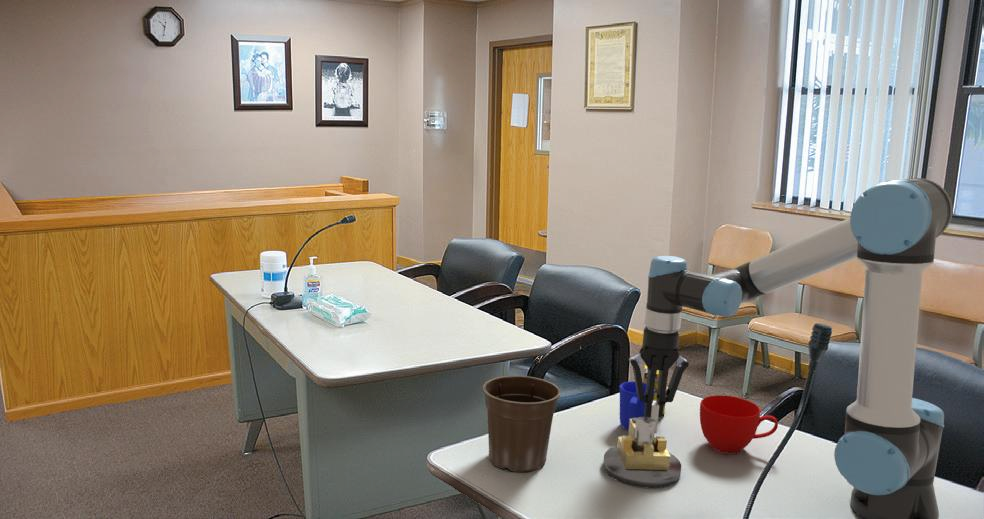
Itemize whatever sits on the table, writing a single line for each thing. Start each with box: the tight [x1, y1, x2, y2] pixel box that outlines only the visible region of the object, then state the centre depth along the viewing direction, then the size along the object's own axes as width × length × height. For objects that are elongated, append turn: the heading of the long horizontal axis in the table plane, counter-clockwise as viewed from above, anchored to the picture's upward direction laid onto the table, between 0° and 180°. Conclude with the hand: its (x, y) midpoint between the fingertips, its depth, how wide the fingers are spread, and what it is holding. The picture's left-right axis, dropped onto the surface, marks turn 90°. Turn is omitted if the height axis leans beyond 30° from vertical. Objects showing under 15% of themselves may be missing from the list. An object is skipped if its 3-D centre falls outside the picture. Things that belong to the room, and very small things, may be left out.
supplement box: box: [642, 364, 669, 417], centre depth 195 cm, size 6×6×11 cm
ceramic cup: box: [699, 394, 779, 455], centre depth 175 cm, size 13×17×10 cm
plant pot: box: [482, 375, 562, 473], centre depth 165 cm, size 16×16×16 cm
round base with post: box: [602, 417, 682, 489], centre depth 163 cm, size 16×16×11 cm
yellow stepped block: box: [616, 418, 670, 470], centre depth 165 cm, size 14×9×5 cm, turn 2°
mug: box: [619, 380, 655, 431], centre depth 183 cm, size 8×12×10 cm
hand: (651, 430), depth 172 cm, fingers closed
